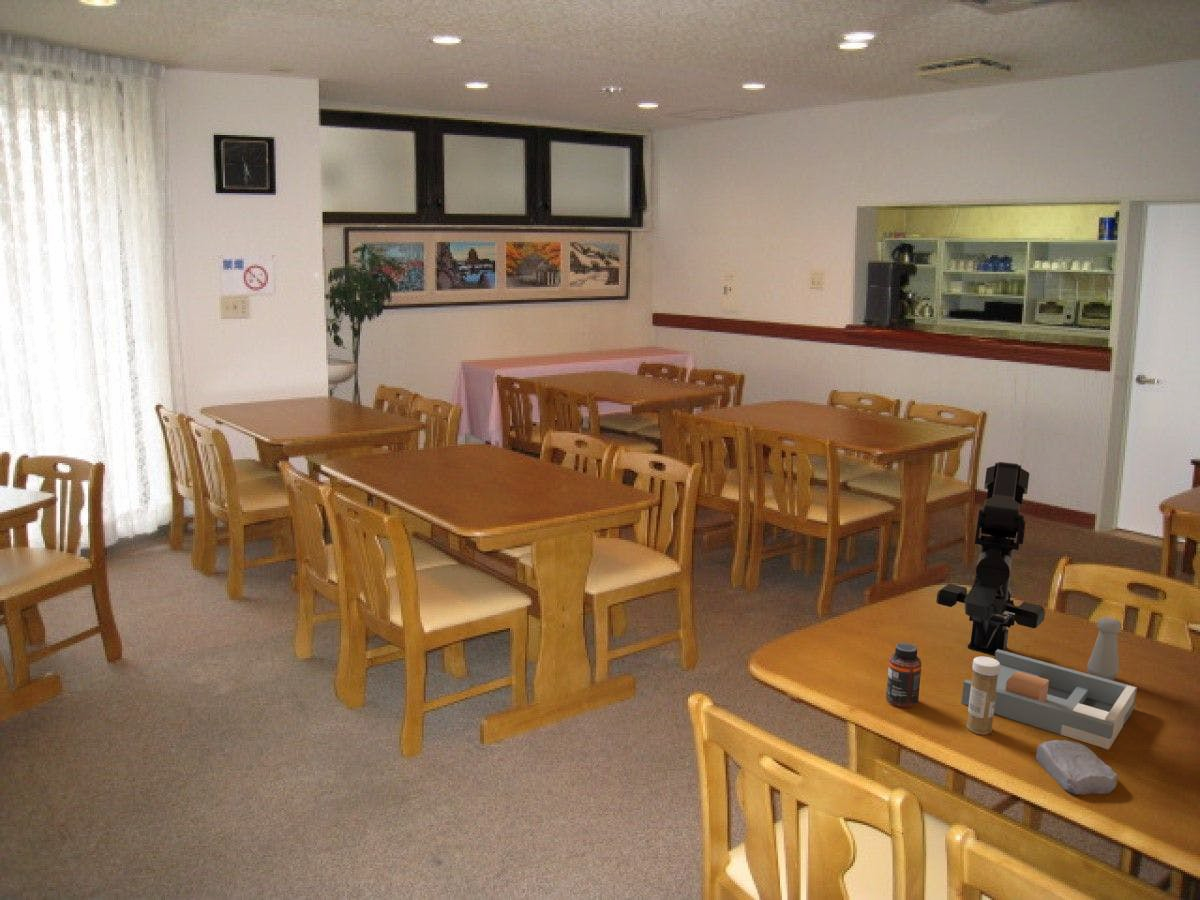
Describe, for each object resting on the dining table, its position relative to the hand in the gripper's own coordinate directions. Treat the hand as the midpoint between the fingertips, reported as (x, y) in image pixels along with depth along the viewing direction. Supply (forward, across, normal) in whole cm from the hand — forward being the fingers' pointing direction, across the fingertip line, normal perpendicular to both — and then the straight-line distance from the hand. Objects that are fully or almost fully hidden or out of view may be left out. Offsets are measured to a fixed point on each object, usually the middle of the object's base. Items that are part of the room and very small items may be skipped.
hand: (984, 646), depth 195 cm
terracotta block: (+8, +8, 0) cm, 12 cm away
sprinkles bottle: (+10, +4, -14) cm, 18 cm away
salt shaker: (+10, +17, +24) cm, 31 cm away
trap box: (+10, +12, +4) cm, 16 cm away
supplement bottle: (+10, -10, -13) cm, 19 cm away
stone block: (+11, +23, -18) cm, 31 cm away
